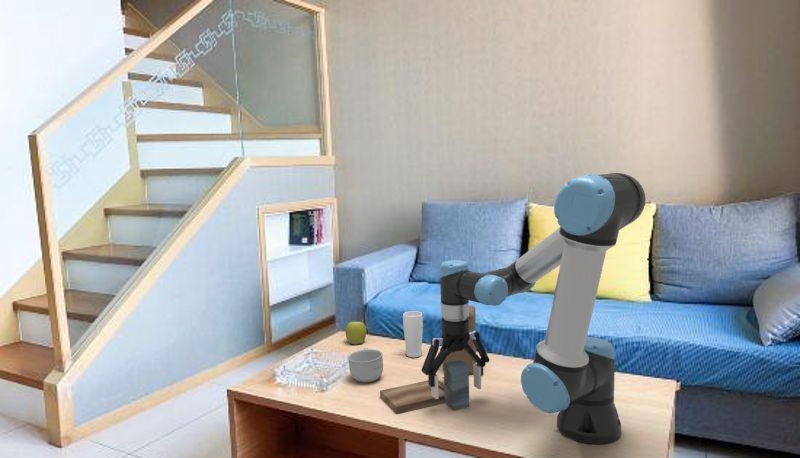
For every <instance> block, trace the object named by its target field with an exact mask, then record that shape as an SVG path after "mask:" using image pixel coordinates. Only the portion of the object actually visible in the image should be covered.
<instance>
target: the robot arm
mask: <svg viewBox="0 0 800 458" xmlns="http://www.w3.org/2000/svg"><path fill="white" fill-rule="evenodd" d="M645 207H646V193H645V189H644V188H643V186H642V184H641V183H640V182H639V181H638V180H637V179H636V178H635V177H633V176H631V175H629V174H626V173H622V172H621V173H620V172H612V173H605V174H592V173H591V174H584V175H581V176H579V177H575V178H573V179H570V180H569V181H568V182H566V183H564V185H563V186H562V187H561V188H560V189H559V191H558V193H557V195H556V197H555V200H554V205H553V210H554V212H553V213H554V217H555V218H556V219H557V224H558V226H559V227H558V228H557V229H555V230H554V231H553V232H552V233H550V234H549V235H548V236H547V237H545V238H544V239H542V240H541V241H540V242H538V243H537V244H536V245H535V246H533V247H532V248H530V249H529V250H528V251H527V252H526V253H524V254H523V255H521V256H520V257H519V258H517V260H515V261H513V262H512V263H511V264H509V265H508V266H507V267H503V268H499V269H498V268H497V269H495V270H491V271H487V272H477V271H475V272H474V271H471V270H469V264H468V262H467V261H465V260H460V259H456V260H455V259H451V260H450V259H449V260H445V261H443V262H442V263H441V264H440V266H439V267H440V269H439V270H440V271H439V272H440V273H439V283H440V287H439V288H440V314H441V316H440V317H441V319H440V320H441V321H440V324H441V327H440V329H441V337H437V338H436V337H434V336H433V337H431V338H430V347H429V350H428V352H427V354H426V357H425V359H424V362H423V365H422V367H421V372H422V373H423V374H424V375H426V376H427V378H428V379H427V380H428V382H429V386H431V392H432V396H433V397H434V398H435V399H439V394H438V375H439V374H438V375H437V373H438V371H439V369H440V368H441V366H443V362H444V360H445V359H446V357H447V356H448V355H449V354H450V353H451V352H456V351H463V349H465V351H466V352H467V353H468V354H469V355H470V356H471V357H472V358H473V359H474V361H475V362H476V364H474V373H473V387H475V388H476V389H477V390H482V377H483V376H484V367H486V363H489V362H490V358H489V356H488V354H487V351H486V349H485V347H484V345H483V343H482V341H481V338H480V333H479V332H478V331H477V330H476V331H474V330H472V331H471V332H470V333H469V332H468V331H469V319H468V316H469V302H470V301H471V302H475V303H479V304H481V305H484V306H493V307H494V306H495V307H497V306H500V305H502V304H503V302H504V301H505V300H506V298H507V297H510V296H514V295H517V294H523V293H525V292H528V291H530V290H531V289H533V288H534V287H535V286H536V283H537V282H538V281H539V280H540V279H542V278H543V277H546V275H548V274H549V273H551V272H553V270H555V269H557V268H558V267H559V269H558V274H557V280H556V283H555V289H554V294H553V298H552V305H551V309H550V315H549V319H548V323H547V329H546V333H545V338H544V340H543V339H542V340H541V341H540V342H538V343H537V345H536V348H535V352H534V358H533V362H531V363H528V364H527V365H526V366H525V367H524V368H523V370H521V375H520V384H521V388H522V391H523V393H524V394H525V395H526V398H527V400H528V401H529V402H530V403H531V405H533V407H535V408H536V409H538V410H540V411H541V412H544V413H547V414H554V413H555V414H556V413H557V417H556V428H557V430H558V432H559V433H560V434H562V435H563V436H564V437H566V438H568V439H570V440H572V441H575V442H579V443H583V444H589V445H590V444H591V445H606V444H610V443H613V442H616V441H617V440H619V439H620V437H621V435H622V423H621V420H620V418H619V412H618V410H617V407H616V404H615V373H616V372H615V371H616V370H615V369H616V357H615V353H616V352H615V347H614V344H612V343H610V342H609V341H608V340H605V339H601V338H597V337H594V336H593V337H592V336H588V333H589V329H590V325H591V320H592V315H593V311H594V307H595V303H596V298H597V293H598V289H599V286H600V285H599V284H600V280H601V277H602V276H601V275H602V272H603V268H604V263H605V258H606V254H607V251H608V250H609V249H612V248H614V247H615V246H617V241H618V238H619V231H620V230H622V229H624V228H625V227H627V226H628V225H630V224H632V223H634V222H635V221H636V220H637V219H638V218H640V216H641V215H642V213H643V211H644V209H645ZM442 317H443V318H442ZM470 338H471V339H472V341H473V343H474V345H475V347H476V353H475V352H474V351H473V350H472V348H471V347H470V346H469V345H468V341H469V339H470ZM442 344H443V345H442ZM445 349H447V350H445ZM477 352H478V354H477ZM479 356H480V357H479Z"/></svg>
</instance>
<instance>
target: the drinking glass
mask: <svg viewBox="0 0 800 458" xmlns="http://www.w3.org/2000/svg"><path fill="white" fill-rule="evenodd" d="M423 323H424V319H423V312H421V311H418V310H410V311H405V312H404V313H403V314H402V326H403V327H402V328H403V334H404V335H403V336H404V341H405V342H404V343H405V351H406V352H405V354H406V356H407V357H408V358H410V359H411V358H413V359H415V358H419V357H421V356H422V355H423V354H422V353H423V352H422V348H423V347H422V346H423V330H424V329H423Z"/></svg>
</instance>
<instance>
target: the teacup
mask: <svg viewBox="0 0 800 458" xmlns="http://www.w3.org/2000/svg"><path fill="white" fill-rule="evenodd" d="M347 360H348V366H349V372H350V376H351V377H352V378H353V379H354V380H355V381H357V382H359V383H365V384H366V383H367V384H368V383H372V382H374V381H376V380H378V379H379V377H380V376H382V374H383V371H384V361H383V360H384V358H383V352H382V351H381V350H379V349H373V348H372V349H371V348H369V347H364V348H363V349H359V350H356V351H354V352H352V353H350V354H349V355H348V356H347Z"/></svg>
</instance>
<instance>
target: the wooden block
mask: <svg viewBox="0 0 800 458" xmlns="http://www.w3.org/2000/svg"><path fill="white" fill-rule="evenodd" d="M442 318H443V317H442V316H441V319H442ZM468 319H469V331H468V332H469V333H470V332H471V331H472V330H474V331H476V332H477V329H476V328H477V325H476V323H477V321H476V307H475V306H474V305H469V316H468ZM442 345H443V344H442V343H441V346H442ZM468 345H469V346H470V347H471V348H472V350H473V351H474V352H475V353H476V354H477V349H476V347H475V345H474V343H473V341H472V339H471V338H470V339H469V341H468ZM445 350H447V349H445ZM457 359H460V360H462V361H463V362H465V363H466V364H468V365H469V375H472V374H473V375H474V364H477V363H476V362H475V361H474V359H473V358H472V357H471V356H470V355H469V354H468V353H467V352H466V351H465V349H463V351H456V352H451V353H450V354H449V355H448V356H447V357H446V359H445V360H444V362H447V361H452V360H457ZM444 362H443V363H442V371H443V372H444Z"/></svg>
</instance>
